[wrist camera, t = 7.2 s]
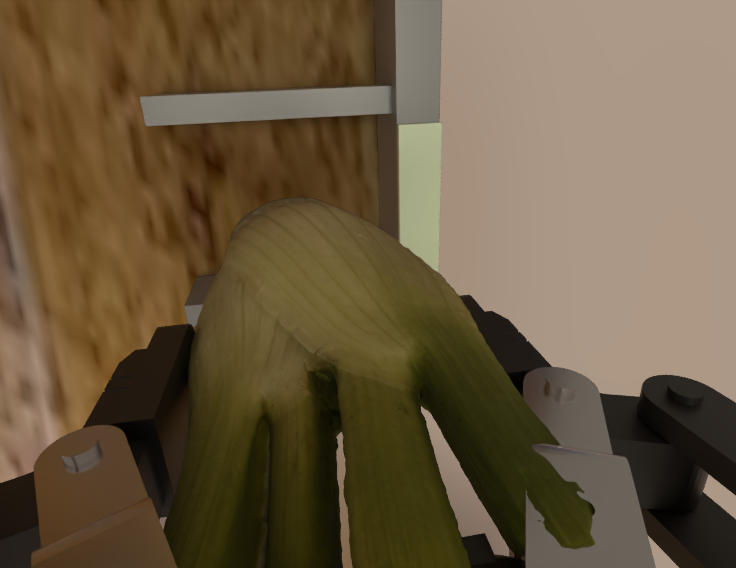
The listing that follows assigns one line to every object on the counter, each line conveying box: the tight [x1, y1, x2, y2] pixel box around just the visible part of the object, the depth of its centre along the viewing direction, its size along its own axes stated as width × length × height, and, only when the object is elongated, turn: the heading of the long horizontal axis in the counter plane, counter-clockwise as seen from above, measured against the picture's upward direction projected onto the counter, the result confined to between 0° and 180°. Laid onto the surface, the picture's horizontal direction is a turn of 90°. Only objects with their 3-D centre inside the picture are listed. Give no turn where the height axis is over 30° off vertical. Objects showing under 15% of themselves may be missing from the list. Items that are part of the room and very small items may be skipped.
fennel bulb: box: [163, 197, 595, 568], centre depth 10 cm, size 6×5×12 cm
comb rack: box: [140, 0, 442, 326], centre depth 23 cm, size 21×13×5 cm, turn 2°
